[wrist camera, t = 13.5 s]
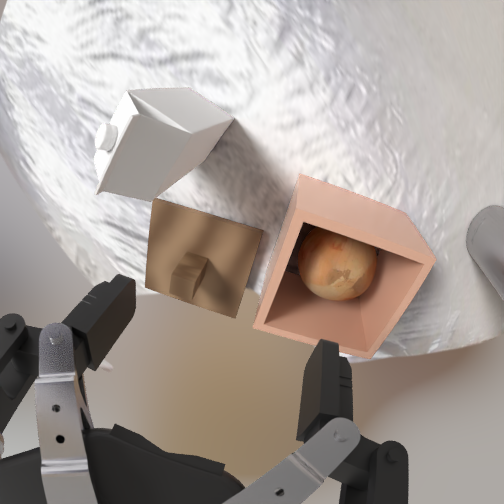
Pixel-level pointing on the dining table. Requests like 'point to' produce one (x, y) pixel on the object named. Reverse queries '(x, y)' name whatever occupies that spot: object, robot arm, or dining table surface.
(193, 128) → the milk carton
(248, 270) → the lid
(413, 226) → the tan open box
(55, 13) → the dining table surface
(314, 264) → the onion
